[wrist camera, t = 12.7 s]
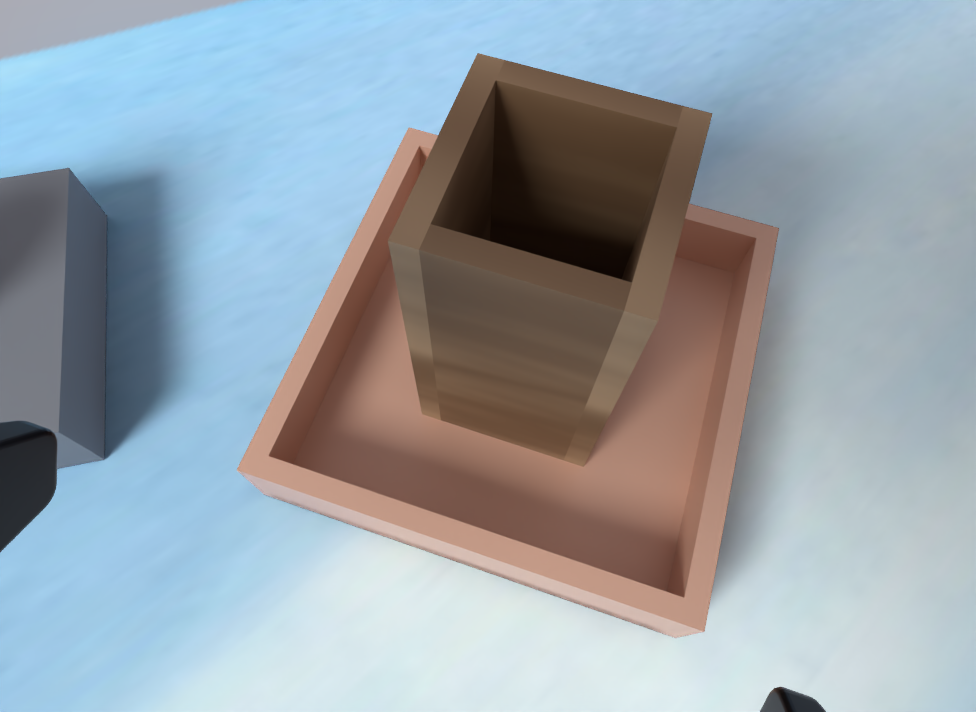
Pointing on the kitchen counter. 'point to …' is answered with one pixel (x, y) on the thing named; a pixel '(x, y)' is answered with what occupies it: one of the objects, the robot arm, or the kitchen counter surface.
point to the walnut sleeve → (541, 251)
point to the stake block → (54, 311)
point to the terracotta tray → (517, 470)
